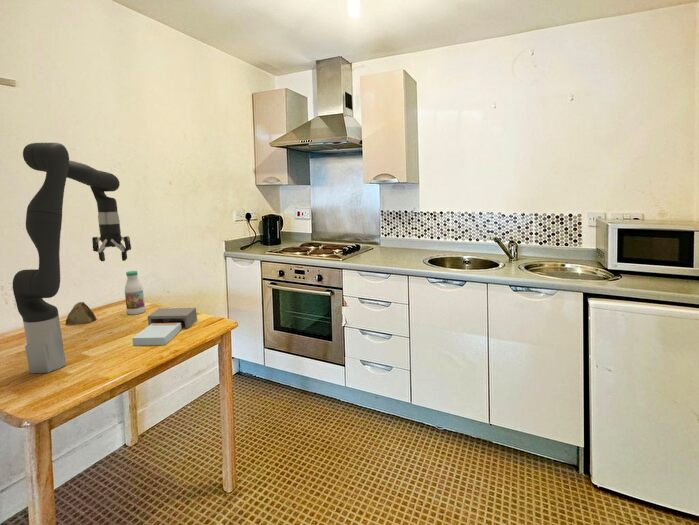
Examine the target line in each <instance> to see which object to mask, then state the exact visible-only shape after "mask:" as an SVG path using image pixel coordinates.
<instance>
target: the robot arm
mask: <svg viewBox="0 0 699 525" xmlns="http://www.w3.org/2000/svg"><path fill="white" fill-rule="evenodd" d="M22 158H23V161H24V162H25V164H26V165H27V166H28V167H29V168H30V169H33V170H35V171H38V172H44V173H45V179H44V182H43V184H42V186H41V187H40V189H39V190H38V191H37V193H36V194H35V195H34V196H33V197H32V199H31V200H30V201H29V203H28V205H27V208H26V214H25V229H26V232H27V234H28V237H29V238H30V240H31V242H32V243H33V244H34V246H35V248H36V250H37V254H38V269H33V268H31V269H22V270H19V271H17V272H16V273H15V275H14V276H13V279H12V291H13V296H14V300H15V305H16V308H17V312H18V314H19V315H20V316H21V318H22V325H23V327H24V328H23V329H24V335H25V339H26V340H25V341H26V344H25V346H24V348H25V354H26V359H27V364H28V365H27V366H28V371H29V374H49V373H52V372H54V371H56V370H58V369H61V368H63V367H65V366H66V364H67V360H66V352H65V347H64V341H63V335H62V328H61V322H60V316H59V309H58V307H57V306H55V305H53V304H50V303H49V302H46V301H45V300H44V299H51V298H53V297H55V296H57V294H58V293H59V289H60V286H61V262H60V261H61V260H60V257H61V256H60V250H61V249H60V248H61V231H62V224H63V223H62V222H63V204H64V194H65V187H66V182H67V178H68V179H71V180H73V181H76V182H79V183H81V184H84V185H87V186H89V187H90V190H91V192H92V194H93V196H94V199H95V201H96V205H97V212H98V213H97V220H98V229H99V235H100V236H92V238H91V239H92V241H91V242H92V251H93V252H96V253H98V259H99V261H100V262H105V261H106V257H105V256H106V255H105V252H104V251H105V250H106V248H110V247H111V248H117V249H118V250H120V251H121V254H120V255H121V261H122V262H126V261H127V259H128V252H129V251H131V250H132V243H131V240H130V238H131V237H130V236H129V235H127V236H122V234H121V225H120V224H121V223H120V222H121V221H120V215H119V211H118V204H117V200H116V198H114V197H109V196H107V194H106V193H105V192H115V191H117V190H119V188H120V185H121V184H120V179H119V178H118V177H117V176H116V175H114V173H110V172H106V171H102V170H98V169H96V168H94V167H91V166H90V165H88V164H86V163H81V162H78V161H75V160H74V161H73V160H70V156H69V151H68V149H67V148H66V147H65V145H64V144H62V143H59V142H32V143H28V144H27V145H25V147H24V148H23V151H22ZM122 241H123V242H124V244H123V243H122ZM99 242H101V245H99V244H100V243H99Z"/></svg>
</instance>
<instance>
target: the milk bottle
mask: <svg viewBox="0 0 699 525" xmlns="http://www.w3.org/2000/svg"><path fill="white" fill-rule="evenodd" d="M125 274H126V277H127V278H126V282H125V286H124V297H125V305H126V313H127V314H128V315H138V314H142V313H144V312H145V311H146V303H145V302H146V301H145V294H144V288H143V285H142V282H141V281H140V280H139V278H138V271H137V270H129V271H126V273H125Z"/></svg>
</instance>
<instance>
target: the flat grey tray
mask: <svg viewBox="0 0 699 525" xmlns="http://www.w3.org/2000/svg"><path fill="white" fill-rule="evenodd" d="M180 330H181V331H182V322H163V323H162V322H160V323H152V324H151V325H148V326H146V327H145V328H144V329H142V330H141V331H139V333H137V334H135V335H134V336H133V337H132V338H131V339H132V346H137V347H138V346H165V345H168V343H169V342H170V341H171V340H172V339H173V338H175V337H176V336H177V335H176V334H177V333H178V332H179V331H180ZM181 331H180V332H181ZM180 332H179V333H180ZM179 333H178V334H179Z"/></svg>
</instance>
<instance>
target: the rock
mask: <svg viewBox="0 0 699 525" xmlns="http://www.w3.org/2000/svg"><path fill="white" fill-rule="evenodd" d="M97 320H98V318H97V317H96V315H95V313H94V311H92V309H91V308H90V306H88V304H86V302H84V301H78V302H77V303H76V304H74V306H73V307H72V309H71V310H70V312H68V314H67V316H66V318H65V325H76V323H80V324H87V323H92V321H93V322H96V321H97Z"/></svg>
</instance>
